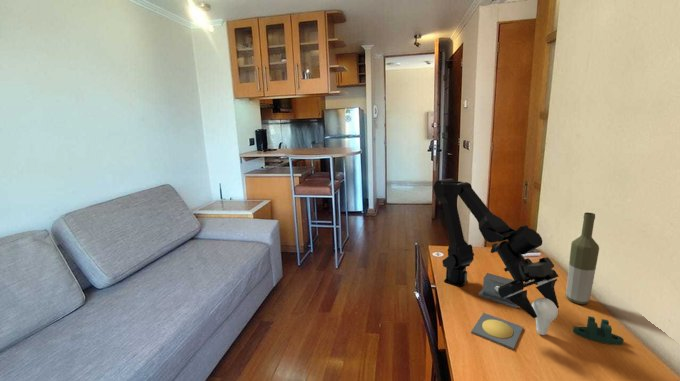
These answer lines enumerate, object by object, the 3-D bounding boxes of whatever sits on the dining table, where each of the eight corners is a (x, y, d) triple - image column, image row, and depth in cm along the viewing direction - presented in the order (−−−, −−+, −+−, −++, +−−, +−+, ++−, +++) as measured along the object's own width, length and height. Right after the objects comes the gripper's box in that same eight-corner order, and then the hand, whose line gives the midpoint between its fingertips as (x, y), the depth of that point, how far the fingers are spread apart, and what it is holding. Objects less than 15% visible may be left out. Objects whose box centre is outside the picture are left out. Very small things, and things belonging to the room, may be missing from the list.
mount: (574, 336, 87) (576, 321, 86) (571, 327, 91) (573, 312, 90) (625, 348, 82) (628, 332, 81) (620, 338, 86) (623, 322, 85)
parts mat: (471, 332, 90) (471, 330, 90) (483, 314, 98) (483, 312, 98) (513, 350, 83) (513, 347, 83) (522, 328, 91) (523, 326, 91)
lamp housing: (478, 296, 108) (479, 277, 106) (484, 288, 112) (485, 270, 110) (517, 308, 100) (519, 289, 98) (521, 300, 104) (523, 281, 103)
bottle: (595, 307, 99) (609, 217, 92) (570, 305, 101) (582, 216, 94) (583, 295, 106) (596, 210, 99) (560, 293, 107) (571, 210, 101)
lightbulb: (558, 342, 85) (563, 306, 82) (533, 340, 86) (537, 305, 83) (548, 328, 91) (552, 294, 88) (525, 326, 92) (529, 292, 89)
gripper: (510, 256, 83) (547, 315, 76) (555, 243, 91) (593, 295, 83) (484, 271, 92) (515, 325, 85) (527, 257, 99) (559, 306, 92)
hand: (546, 312), depth 86 cm, fingers open, 9 cm apart
